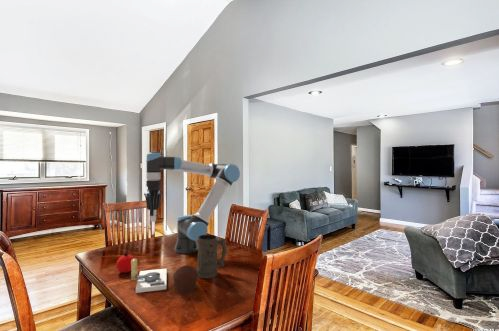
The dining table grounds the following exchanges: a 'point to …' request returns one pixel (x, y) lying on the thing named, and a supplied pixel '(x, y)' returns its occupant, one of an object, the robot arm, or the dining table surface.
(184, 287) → the muffin
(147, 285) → the stand
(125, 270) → the ornament
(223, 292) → the dining table surface
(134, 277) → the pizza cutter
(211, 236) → the beer stein
